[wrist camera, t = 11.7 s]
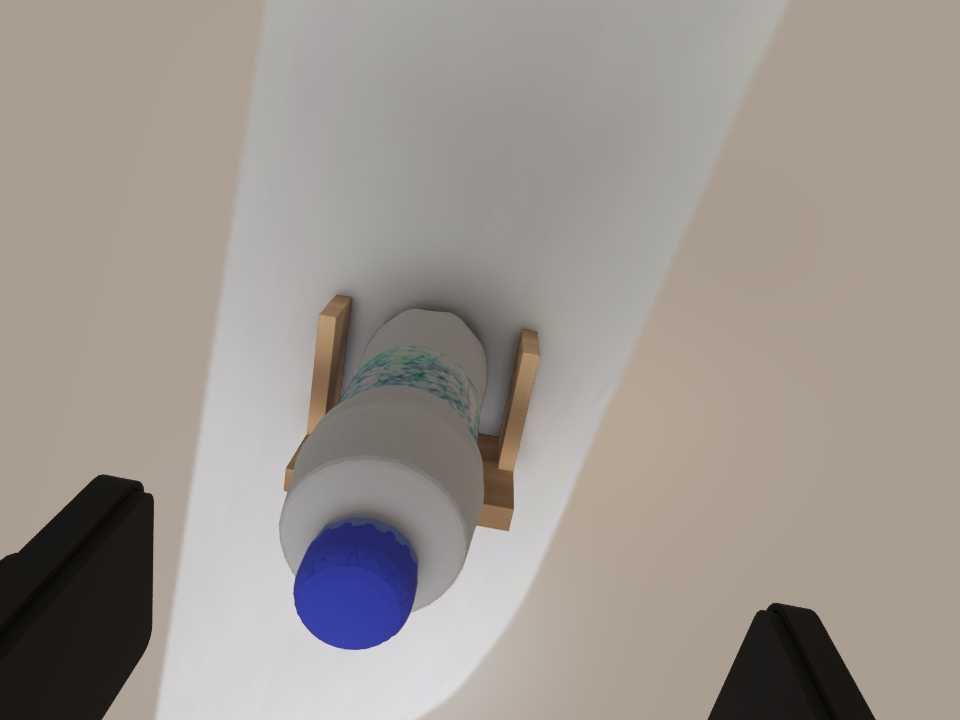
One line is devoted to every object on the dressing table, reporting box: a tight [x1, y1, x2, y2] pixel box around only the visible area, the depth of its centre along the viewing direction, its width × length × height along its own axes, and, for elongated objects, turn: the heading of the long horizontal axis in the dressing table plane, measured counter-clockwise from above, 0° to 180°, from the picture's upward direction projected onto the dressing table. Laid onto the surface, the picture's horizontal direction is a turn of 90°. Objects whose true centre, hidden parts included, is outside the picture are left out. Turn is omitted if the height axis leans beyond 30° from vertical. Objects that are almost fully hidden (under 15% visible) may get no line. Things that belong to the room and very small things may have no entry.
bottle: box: [279, 308, 488, 650], centre depth 28 cm, size 7×7×20 cm
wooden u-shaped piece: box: [284, 295, 540, 531], centre depth 34 cm, size 8×11×7 cm
